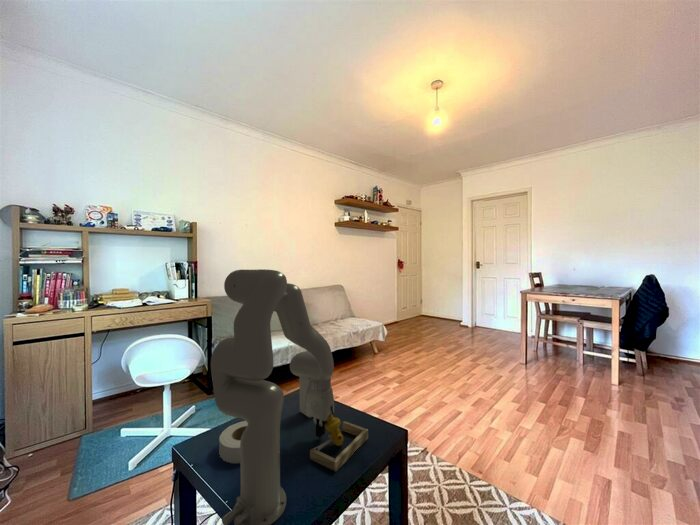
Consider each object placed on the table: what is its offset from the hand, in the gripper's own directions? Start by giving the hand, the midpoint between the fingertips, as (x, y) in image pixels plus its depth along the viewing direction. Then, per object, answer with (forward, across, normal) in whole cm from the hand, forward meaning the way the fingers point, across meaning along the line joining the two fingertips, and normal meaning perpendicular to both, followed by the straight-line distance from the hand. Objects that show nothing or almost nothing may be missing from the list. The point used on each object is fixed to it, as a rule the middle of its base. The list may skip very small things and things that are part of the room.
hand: (320, 434), depth 99 cm
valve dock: (+2, +8, 0) cm, 8 cm away
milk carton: (+2, -15, +12) cm, 19 cm away
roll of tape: (+2, -18, -18) cm, 26 cm away
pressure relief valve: (+2, +6, -2) cm, 7 cm away
